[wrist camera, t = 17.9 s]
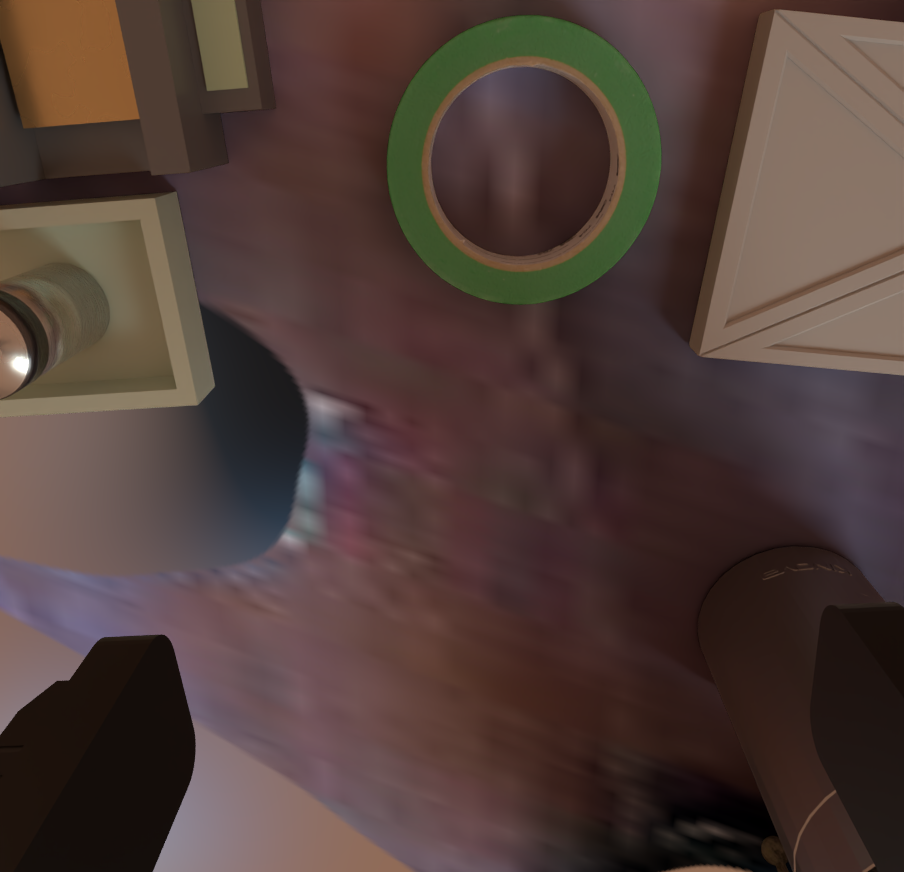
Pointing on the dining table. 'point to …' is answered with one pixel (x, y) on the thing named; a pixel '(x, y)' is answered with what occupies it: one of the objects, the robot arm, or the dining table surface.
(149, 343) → the trough
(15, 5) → the pad
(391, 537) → the dining table surface
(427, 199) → the tape roll
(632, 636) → the dining table surface
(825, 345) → the envelope
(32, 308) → the cell
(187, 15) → the cradle
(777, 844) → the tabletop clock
